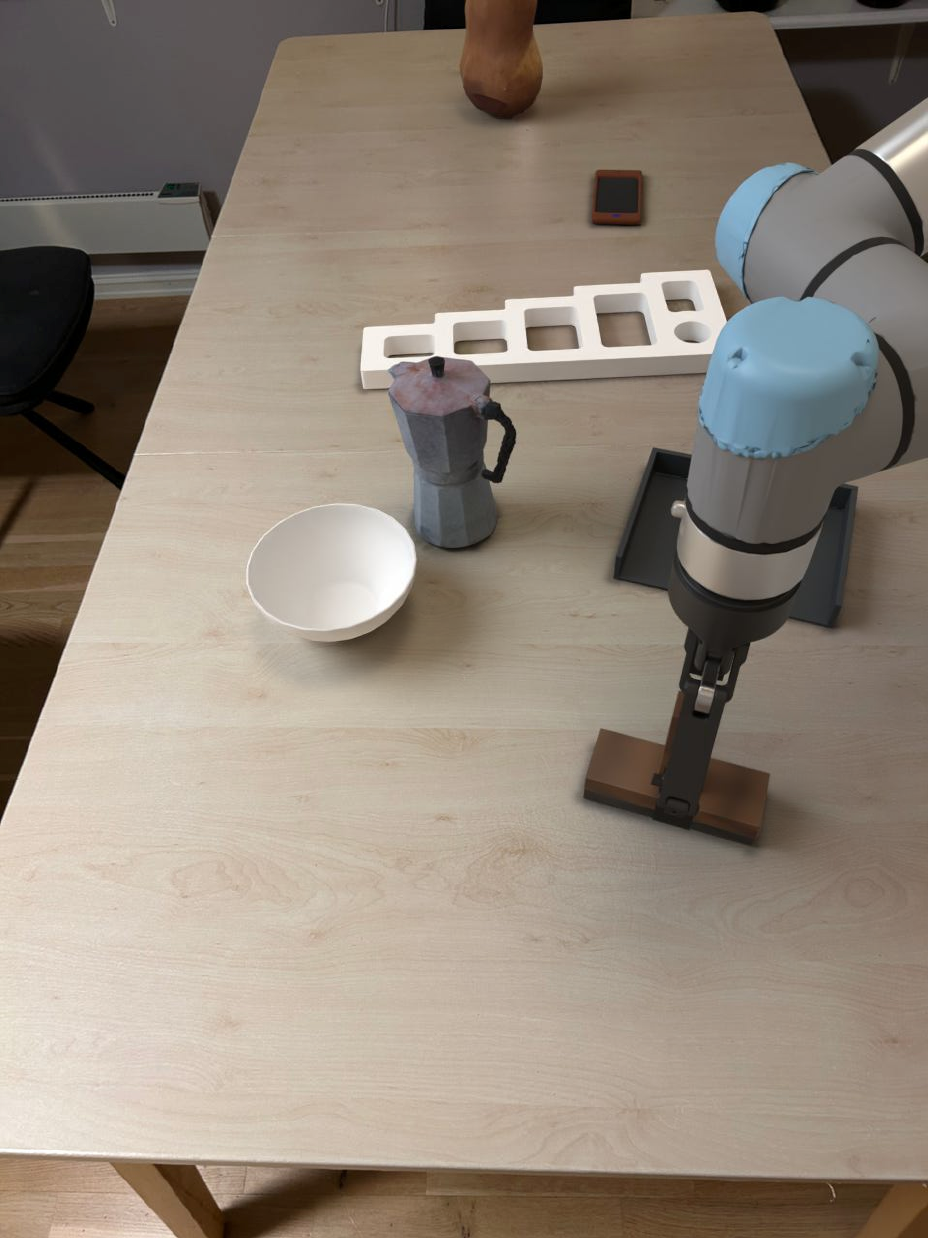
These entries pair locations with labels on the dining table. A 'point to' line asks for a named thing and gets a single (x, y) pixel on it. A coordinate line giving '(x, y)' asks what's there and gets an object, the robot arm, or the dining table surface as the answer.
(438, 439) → the moka pot
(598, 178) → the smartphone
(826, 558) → the dustpan
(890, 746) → the dining table surface
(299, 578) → the bowl
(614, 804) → the brush
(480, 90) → the butternut squash
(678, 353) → the holder
